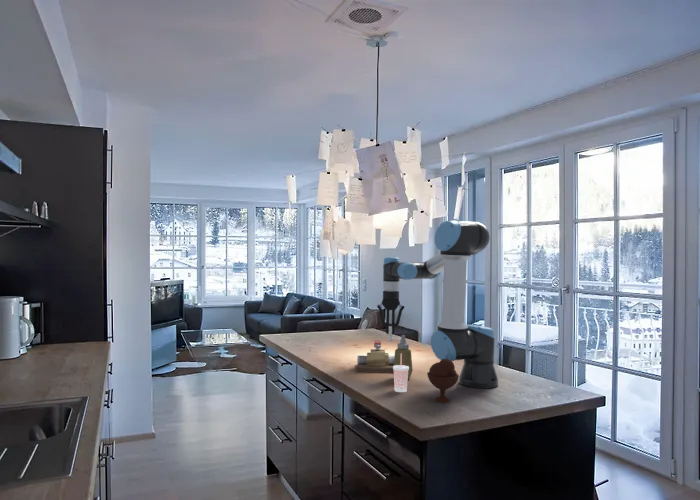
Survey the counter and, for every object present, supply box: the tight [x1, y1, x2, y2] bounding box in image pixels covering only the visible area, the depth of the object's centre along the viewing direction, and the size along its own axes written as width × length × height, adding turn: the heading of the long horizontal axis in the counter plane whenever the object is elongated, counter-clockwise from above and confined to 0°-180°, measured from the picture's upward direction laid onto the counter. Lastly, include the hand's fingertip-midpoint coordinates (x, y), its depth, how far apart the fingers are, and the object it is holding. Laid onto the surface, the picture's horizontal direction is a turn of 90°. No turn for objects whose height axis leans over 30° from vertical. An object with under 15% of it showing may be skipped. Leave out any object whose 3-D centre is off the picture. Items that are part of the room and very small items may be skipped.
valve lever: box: [373, 339, 382, 351], centre depth 235 cm, size 14×3×2 cm, turn 178°
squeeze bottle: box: [393, 334, 413, 380], centre depth 212 cm, size 8×8×18 cm
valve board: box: [356, 348, 395, 374], centre depth 230 cm, size 14×18×8 cm
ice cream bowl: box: [426, 359, 460, 404], centre depth 182 cm, size 11×11×15 cm
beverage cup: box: [393, 353, 409, 393], centre depth 194 cm, size 6×6×14 cm
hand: (390, 340), depth 240 cm, fingers closed
